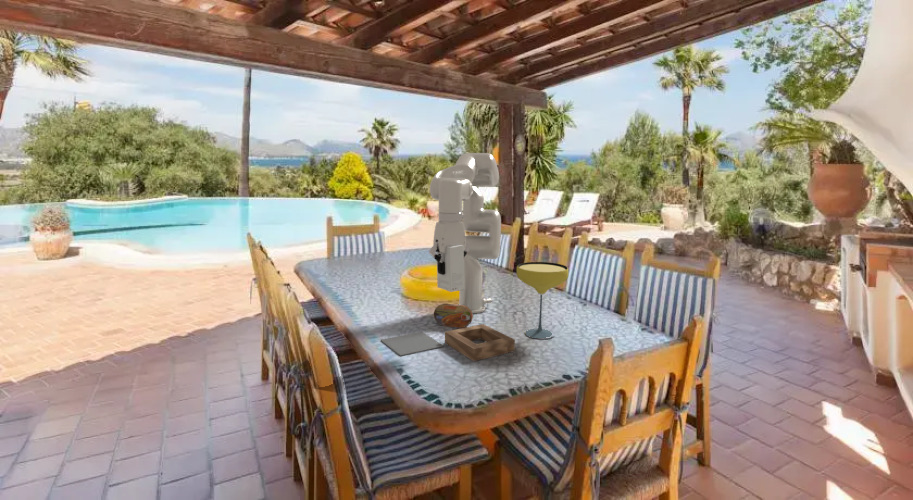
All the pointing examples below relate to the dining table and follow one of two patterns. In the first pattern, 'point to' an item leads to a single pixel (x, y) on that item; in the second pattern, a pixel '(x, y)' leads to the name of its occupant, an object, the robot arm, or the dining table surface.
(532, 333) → the cocktail glass
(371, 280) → the dining table surface
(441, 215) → the robot arm
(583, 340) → the dining table surface
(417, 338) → the mat
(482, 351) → the frame
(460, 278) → the skincare box
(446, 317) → the tin
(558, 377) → the dining table surface
